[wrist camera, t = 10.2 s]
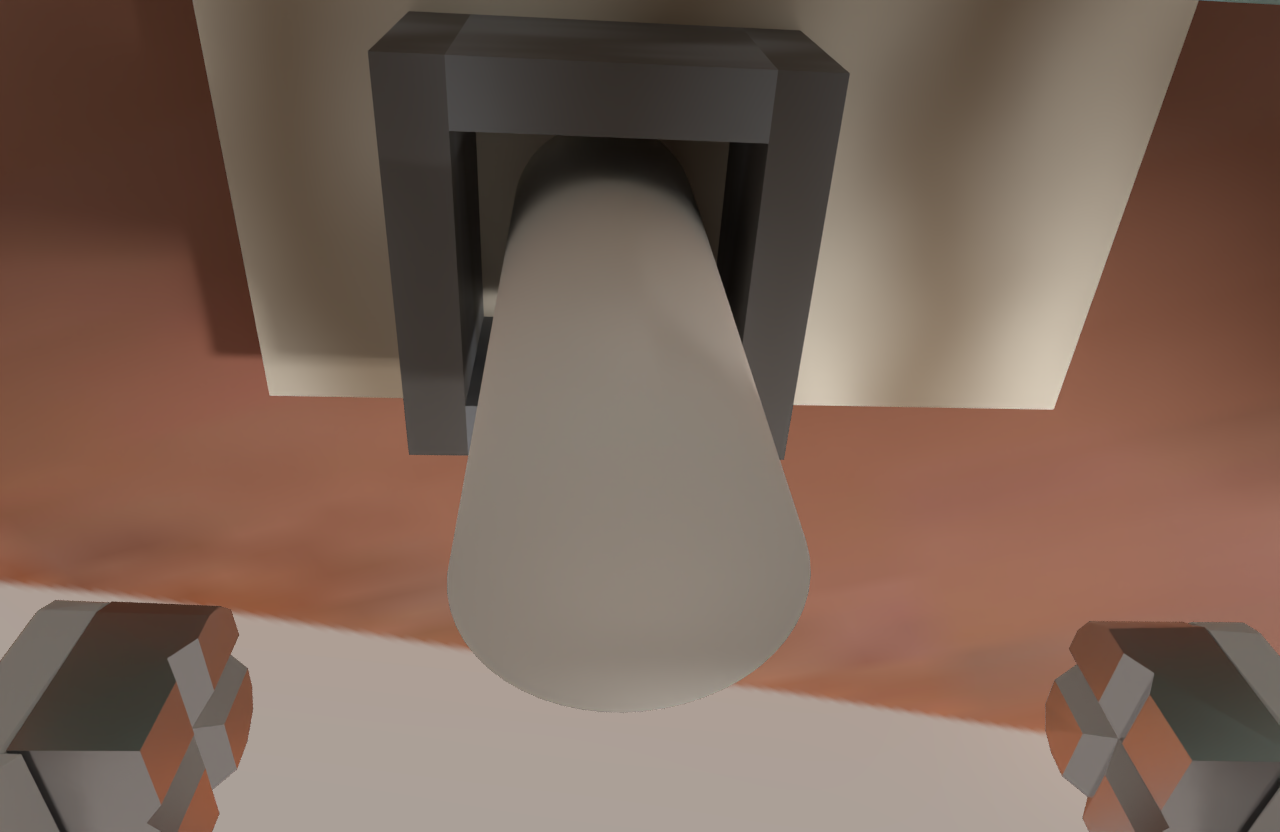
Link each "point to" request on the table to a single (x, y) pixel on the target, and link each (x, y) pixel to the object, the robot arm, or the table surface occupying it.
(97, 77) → the table surface
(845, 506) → the table surface
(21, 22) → the table surface
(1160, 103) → the canopy socket
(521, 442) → the peg
